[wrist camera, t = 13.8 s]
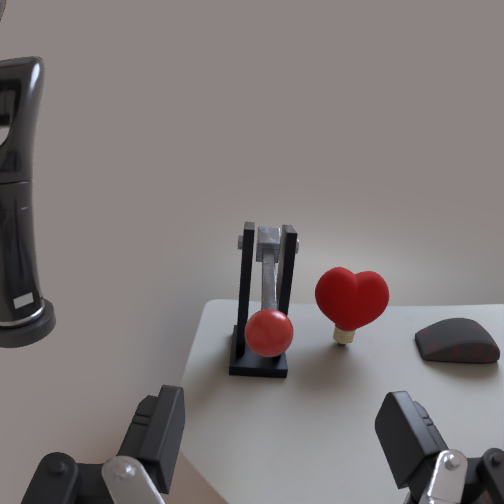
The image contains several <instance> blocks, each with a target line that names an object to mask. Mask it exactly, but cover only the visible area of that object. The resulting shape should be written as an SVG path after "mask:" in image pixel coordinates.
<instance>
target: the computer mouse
mask: <svg viewBox="0 0 504 504" xmlns="http://www.w3.org/2000/svg"><path fill="white" fill-rule="evenodd" d="M415 339H416V341H417V343H418V346H419V348H420V351H421V353H422V356H423V358H424V359H425V360H434V361H453V362H475V363H490V362H495V361H497V360H499V358H500V350H499V348H498V346H497V344H496V343H495V341H494V340H493V338H492V337H491V335H490V334H489V333H488V332H487V331H486V330H485V329H484V328H483V327H482V326H481V325H480V324H479V323H477V322H476V321H474V320H470V319H466V318H452V319H446V320H442V321H439V322H437V323H435V324H432V325H430V326H428V327H426V328H424V329H422V330H420V331H418V332H417V333H416V334H415Z"/></svg>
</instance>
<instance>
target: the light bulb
mask: <svg viewBox="0 0 504 504" xmlns="http://www.w3.org/2000/svg"><path fill="white" fill-rule="evenodd" d="M315 298H316V302H317V305H318V307H319V308H320V310H321V311H322V312H323V314H324V315H326V316H327V317H328V318H329V319H330V320H331V321H333V322H334V323H335V331H334V335H333V338H334V340H335V341H337V342H338V344H340V345H345V344H348V343H351V342H352V341H353V338H354V333H355V330H356V329H357V328H360V327H362V326H365V325H367V324H369V323H371V322H372V321H374V320H375V319H377V318H378V317H379V316H380V315H381V314H382V313H383V312H384V310H385V308H386V307H387V304H388V301H389V291H388V287H387V284H386V282H385V281H384V279H383V278H382V277H381V276H380V275H379V274H377V273H375V272H372V271H365V272H360V273H358V274H353V273H352V272H351V271H349V270H347V269H345V268H342V267H335V268H333V269H331V270H329V271H327V272H326V273H325V274H324V275H323V276H322V277H321V278H320V280H319V281H318V283H317V286H316V289H315Z"/></svg>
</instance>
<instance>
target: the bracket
mask: <svg viewBox="0 0 504 504" xmlns="http://www.w3.org/2000/svg"><path fill="white" fill-rule="evenodd" d="M254 227H255V225H254V222H245V225H244V234H243V236H239V238H238V249H241V250H242V262H241V277H240V292H239V306H238V321H237V325H234V331H233V339H232V348H231V356H230V365H229V375H239V376H254V377H275V378H286V377H287V372H288V367H287V361H286V355H285V351H284V352H283V353H282V354H280V355H277V356H274V357H264V356H260V355H258V354H256V353H255V352H253V351H252V350H251V349H250V348H249V346H248V344H247V343H246V340H245V327H246V324H247V319H248V307H249V295H250V281H251V269H252V257H253V243H254V232H255V230H254V229H255V228H254ZM298 247H299V242H298V240H297V232H296V231H295V229H294V228H293V227H292V226H291V225H283V226H282V236H281V247H280V256H279V265H278V275H277V284H276V309H277V311H280V312H282V313H283V314H285V315H286V316H287V315H288V307H289V300H290V292H291V284H292V277H293V268H294V259H295V254H297V253H298Z"/></svg>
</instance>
